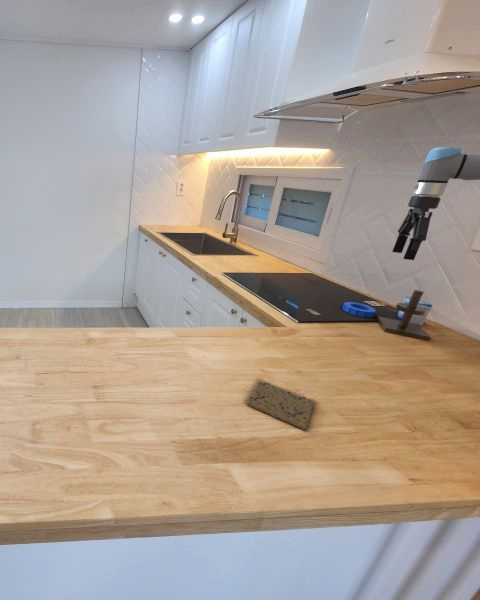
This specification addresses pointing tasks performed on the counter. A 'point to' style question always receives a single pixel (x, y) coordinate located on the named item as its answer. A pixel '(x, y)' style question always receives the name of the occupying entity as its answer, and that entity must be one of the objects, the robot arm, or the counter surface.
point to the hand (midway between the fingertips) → (402, 255)
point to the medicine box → (417, 318)
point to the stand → (406, 319)
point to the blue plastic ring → (359, 309)
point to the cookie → (282, 404)
